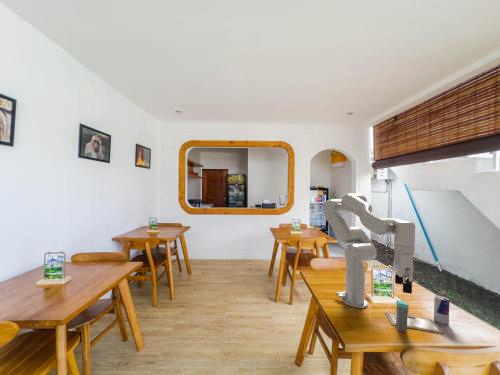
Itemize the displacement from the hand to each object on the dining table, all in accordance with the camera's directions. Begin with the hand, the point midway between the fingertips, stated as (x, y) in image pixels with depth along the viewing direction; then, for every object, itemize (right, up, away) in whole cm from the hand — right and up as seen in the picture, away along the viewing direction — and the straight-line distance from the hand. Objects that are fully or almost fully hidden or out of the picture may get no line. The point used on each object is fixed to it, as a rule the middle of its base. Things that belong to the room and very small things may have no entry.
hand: (402, 288), depth 102 cm
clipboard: (+8, -19, +6) cm, 21 cm away
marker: (-1, -18, 0) cm, 18 cm away
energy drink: (+22, -19, +6) cm, 30 cm away
